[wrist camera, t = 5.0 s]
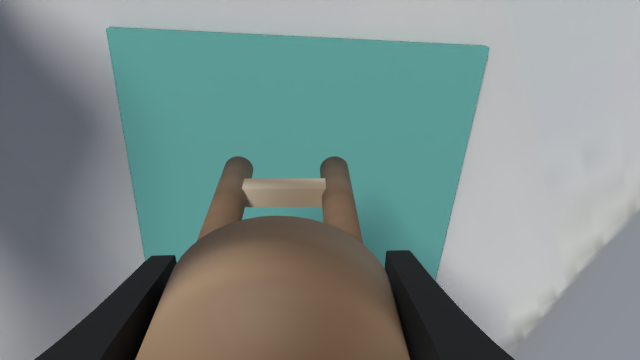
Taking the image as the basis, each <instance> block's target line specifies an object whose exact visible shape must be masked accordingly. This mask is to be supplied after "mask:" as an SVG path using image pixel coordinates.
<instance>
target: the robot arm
mask: <svg viewBox="0 0 640 360" xmlns="http://www.w3.org/2000/svg"><path fill="white" fill-rule="evenodd" d="M176 264H177V262H176V257H175V255H155V256H151V257H149V258H148V259H147V260H146V261H145V262H144V263H143V264H142V265H141V266H140V267H139V268H138V269H137V270H136V271H135V272H134V273H133V274H132V275H131V276H130V277H128V278H127V279H126V280H125V281H124V282H123V283H122V284H121V285H120V286H119V287H118V288H117V289H116V290H115V291H114V292H113V293H112V294H111V295H110V296H109V297H108V298H107V299H105V300H104V301H103V302H102V303H101V304H100V305H99V306H98V307H97V308H96V309H95V310H94V311H93V312H91V313H90V314H89V315H88V316H87V317H86V318H84V319H83V320H82V321H81V322H80V323H79V324H77V325H76V326H75V327H74V328H73V329H72V330H70V331H69V332H68V333H67V334H66V335H65V336H64V337H62V338H61V339H60V340H59V341H58V342H56V343H55V344H54V345H53V346H51V347H50V348H49V349H48V350H46V351H45V352H44V353H42V354H41V355H40V356H39V357H37V358H36V359H35V360H135V359H136V357H137V354H138V352H139V350H140V347H141V345H142V342H143V340H144V338H145V335H146V333H147V330H148V328H149V326H150V323H151V321H152V318H153V316H154V313H155V311H156V309H157V306H158V304H159V301H160V299H161V297H162V294H163V292H164V289H165V287H166V284H167V282H168V280H169V277H170V275H171V273H172V271H173V268H174V266H175V265H176ZM385 271H386V273H387V275H388V277H389V280H390V283H391V287H392V290H393V294H394V298H395V302H396V306H397V310H398V314H399V318H400V322H401V325H402V329H403V333H404V337H405V341H406V345H407V349H408V353H409V357H410V360H514V359H513V358H512V357H511V356H510V355H509V354H507V353H506V352H505V351H504V350H503V349H501V348H500V347H499V346H498V345H497V344H496V343H495V342H493V341H492V340H491V339H490V338H489V337H488V336H487V335H486V334H485V333H484V332H483V331H482V330H481V329H480V328H479V327H478V326H477V325H476V324H475V323H474V322H473V321H472V320H471V319H470V318H469V317H468V316H467V315H466V314H465V313H464V312H463V311H462V310H461V309H460V308H459V307H458V306H457V305H456V304H455V303H454V301H453V300H452V299H451V298H450V297H449V296H448V295H447V294H446V293H445V292H444V290H443V289H442V288H441V287H440V286H439V285H438V284H437V282H436V281H435V280H434V279H433V278H432V276H431V275H430V274H429V273H428V272H427V270H426V269H425V268H424V267H423V266H422V264H421V263H420V262H419V261H418V259H417V258H416V257H415V256H414V254H413V253H412V252H411V251H410V250H390V251H386V258H385Z"/></svg>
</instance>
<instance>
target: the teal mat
mask: <svg viewBox="0 0 640 360" xmlns="http://www.w3.org/2000/svg"><path fill="white" fill-rule="evenodd" d="M106 32H107V38H108V44H109V50H110V56H111V61H112V67H113V73H114V79H115V85H116V91H117V97H118V103H119V109H120V114H121V120H122V126H123V132H124V138H125V144H126V150H127V156H128V162H129V167H130V173H131V179H132V185H133V191H134V197H135V203H136V209H137V214H138V220H139V226H140V232H141V238H142V244H143V250H144V256H145V261H146V260H147V259H148V258H149V257H151V256H155V255H175V257H176V262H178V261H179V259H180V258H181V256H182V255H183V254H184V253H185V252H186V251H187V250H188V249H189V248H190V247H191V246H192V245H193V244H194V243H196V242H197V239H198V236H199V234H200V231H201V228H202V226H203V223H204V220H205V218H206V215H207V212H208V209H209V207H210V204H211V201H212V199H213V196H214V193H215V191H216V188H217V185H218V183H219V180H220V177H221V175H222V172H223V169H224V166H225V164H226V162H227V161H228V160H229V159H230V158H232V157H236V156H240V157H244V158H246V159H248V160H249V161H250V162H251V164H252V166H253V175H252V179H269V178H320V166H321V164H322V162H323V161H324V160H325V159H327V158H329V157H332V156H337V157H340V158H342V159H344V160H345V161H346V163H347V165H348V169H349V174H350V179H351V184H352V189H353V194H354V199H355V205H356V210H357V215H358V220H359V225H360V230H361V235H362V240H363V244H364V245H365V246H366V247H367V248H368V249H369V250H370V251H371V252H372V253H373V254H374V255H375V256H376V257H377V259H378V260H379V261H380V263H381V264H382V265H383V267H384V269H385V258H386V251H390V250H410V251H411V252H412V253H413V254H414V256H415V257H416V258H417V259H418V261H419V262H420V263H421V264H422V266H423V267H424V268H425V269H426V270H427V272H428V273H429V274H430V275H431V276H432V278H433V279H434V280H435V279H436V275H437V271H438V266H439V262H440V258H441V253H442V249H443V245H444V241H445V236H446V232H447V228H448V224H449V219H450V215H451V211H452V206H453V202H454V198H455V194H456V189H457V185H458V181H459V176H460V172H461V168H462V164H463V159H464V155H465V151H466V146H467V142H468V138H469V134H470V129H471V125H472V121H473V116H474V112H475V108H476V104H477V99H478V95H479V91H480V86H481V82H482V78H483V74H484V69H485V65H486V61H487V57H488V52H489V47H487V46H483V45H462V44H442V43H422V42H402V41H382V40H362V39H342V38H322V37H302V36H282V35H262V34H242V33H222V32H202V31H182V30H162V29H142V28H122V27H109V28H107V29H106ZM261 216H295V217H301V218H307V219H312V220H315V221H319V222H323V209H322V207H245V209H244V214H243V218H242V220H244V219H249V218H255V217H261Z"/></svg>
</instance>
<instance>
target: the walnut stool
mask: <svg viewBox="0 0 640 360" xmlns="http://www.w3.org/2000/svg"><path fill="white" fill-rule="evenodd" d="M252 175H253V166H252V164H251V162H250V161H249V160H248V159H246V158H244V157H240V156H236V157H232V158H230V159H229V160H228V161H227V162H226V164H225V166H224V169H223V172H222V175H221V177H220V180H219V183H218V185H217V188H216V191H215V193H214V196H213V199H212V201H211V204H210V207H209V209H208V212H207V215H206V218H205V220H204V223H203V226H202V228H201V231H200V234H199V236H198V239H197V242H196V243H194V244H193V245H192V246H191V247H190V248H189V249H188V250H187V251H186V252H185V253H184V254H183V255H182V256H181V258H180V259H179V261H178V262H177V264H176V265H175V266H174V268H173V271H172V273H171V275H170V277H169V280H168V282H167V284H166V287H165V289H164V292H163V294H162V297H161V299H160V301H159V304H158V306H157V309H156V311H155V313H154V316H153V318H152V321H151V323H150V326H149V328H148V330H147V333H146V335H145V338H144V340H143V342H142V345H141V347H140V350H139V352H138V354H137V357H136V359H135V360H410V357H409V353H408V349H407V345H406V341H405V337H404V333H403V329H402V325H401V322H400V318H399V314H398V310H397V306H396V302H395V298H394V294H393V290H392V287H391V283H390V280H389V277H388V275H387V273H386V271H385V269H384V267H383V265H382V264H381V263H380V261H379V260H378V259H377V257H376V256H375V255H374V254H373V253H372V252H371V251H370V250H369V249H368V248H367V247H366V246H365V245H364V244H363V240H362V235H361V230H360V225H359V220H358V215H357V210H356V205H355V199H354V194H353V189H352V184H351V179H350V174H349V169H348V165H347V163H346V161H345V160H344V159H342V158H340V157H337V156H332V157H329V158H327V159H325V160H324V161H323V162H322V164H321V166H320V178H269V179H252ZM245 207H322V209H323V222H319V221H315V220H312V219H307V218H301V217H295V216H261V217H255V218H249V219H244V220H242V218H243V214H244V209H245Z"/></svg>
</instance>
